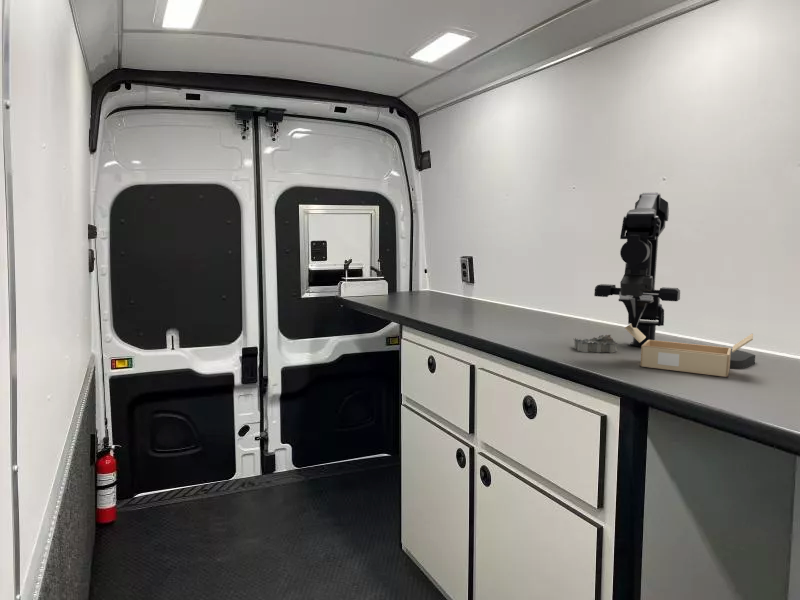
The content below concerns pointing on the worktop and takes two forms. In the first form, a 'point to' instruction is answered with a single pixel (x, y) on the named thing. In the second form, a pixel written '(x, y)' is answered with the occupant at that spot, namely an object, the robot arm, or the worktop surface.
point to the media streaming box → (741, 359)
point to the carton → (686, 357)
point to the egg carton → (596, 344)
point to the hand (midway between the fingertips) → (634, 327)
